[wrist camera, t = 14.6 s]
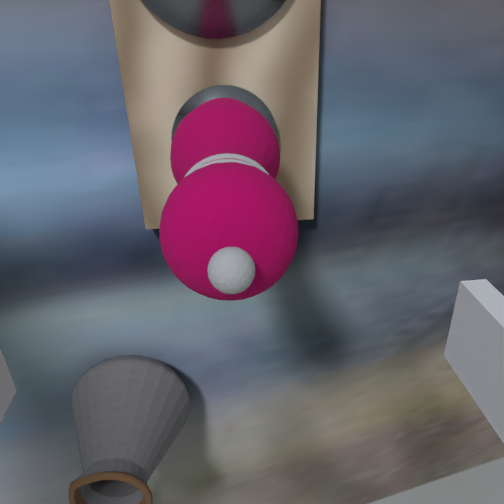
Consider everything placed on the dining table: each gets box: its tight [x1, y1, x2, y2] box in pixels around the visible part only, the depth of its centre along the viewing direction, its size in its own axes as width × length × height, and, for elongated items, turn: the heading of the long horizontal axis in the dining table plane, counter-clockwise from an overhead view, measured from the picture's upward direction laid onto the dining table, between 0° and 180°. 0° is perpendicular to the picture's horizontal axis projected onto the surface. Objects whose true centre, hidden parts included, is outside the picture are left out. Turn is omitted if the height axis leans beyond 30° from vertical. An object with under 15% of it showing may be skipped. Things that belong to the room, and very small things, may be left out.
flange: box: [171, 85, 278, 141], centre depth 34 cm, size 8×8×1 cm
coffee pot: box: [69, 355, 190, 504], centre depth 42 cm, size 21×12×15 cm, turn 142°
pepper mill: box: [159, 98, 299, 300], centre depth 25 cm, size 7×7×20 cm
